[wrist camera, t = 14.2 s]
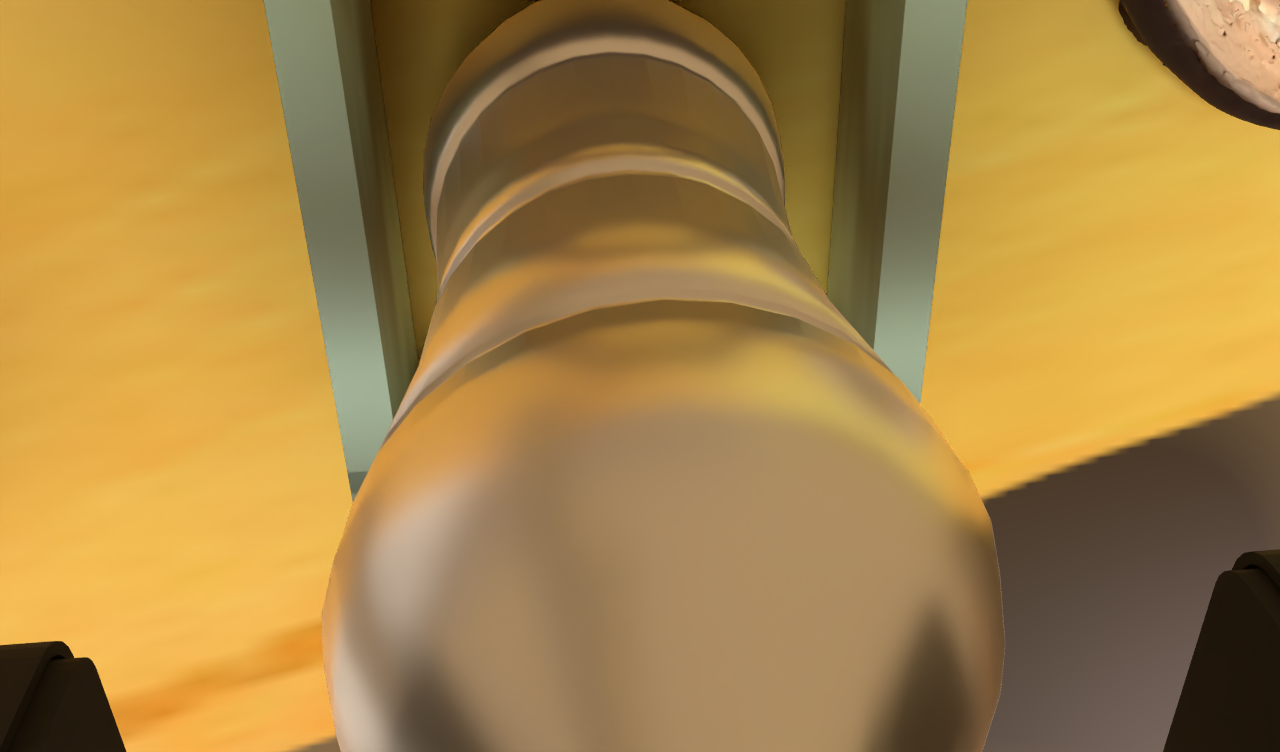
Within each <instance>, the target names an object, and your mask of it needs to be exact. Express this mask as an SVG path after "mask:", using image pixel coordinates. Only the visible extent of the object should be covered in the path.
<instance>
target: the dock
mask: <svg viewBox="0 0 1280 752" xmlns="http://www.w3.org/2000/svg"><path fill="white" fill-rule="evenodd" d="M264 5H265V11H266V17H267V22H268V28H269V33H270V39H271V45H272V50H273V56H274V62H275V67H276V73H277V78H278V84H279V90H280V95H281V101H282V107H283V112H284V118H285V123H286V129H287V135H288V140H289V146H290V152H291V157H292V163H293V168H294V174H295V180H296V185H297V191H298V197H299V202H300V208H301V213H302V219H303V225H304V230H305V236H306V242H307V247H308V253H309V258H310V264H311V270H312V275H313V281H314V287H315V292H316V298H317V303H318V309H319V315H320V320H321V326H322V332H323V337H324V343H325V348H326V354H327V360H328V365H329V371H330V376H331V382H332V388H333V393H334V399H335V405H336V410H337V416H338V421H339V427H340V433H341V438H342V444H343V450H344V455H345V461H346V466H347V472H348V478H349V483H350V489H351V495H352V500H353V502H354V500H355V498H356V496H357V494H358V491H359V489H360V487H361V485H362V483H363V481H364V479H365V477H366V475H367V473H368V471H369V469H370V467H371V465H372V463H373V461H374V459H375V457H376V455H377V453H378V451H379V449H380V446H381V444H382V442H383V440H384V438H385V436H386V434H387V432H388V430H389V427H390V425H391V423H392V421H393V419H394V417H395V415H396V413H397V411H398V408H399V406H400V404H401V402H402V400H403V398H404V396H405V394H406V392H407V390H408V387H409V385H410V383H411V381H412V379H413V377H414V375H415V373H416V371H417V368H418V366H419V364H418V356H417V349H416V341H415V334H414V326H413V319H412V311H411V304H410V296H409V289H408V281H407V274H406V266H405V259H404V251H403V244H402V236H401V229H400V221H399V214H398V206H397V199H396V191H395V184H394V176H393V169H392V161H391V154H390V146H389V139H388V131H387V124H386V116H385V109H384V101H383V94H382V86H381V79H380V71H379V64H378V56H377V49H376V41H375V34H374V26H373V19H372V11H371V4H370V0H264ZM966 7H967V0H847V2H846V17H845V32H844V47H843V62H842V77H841V92H840V107H839V122H838V137H837V152H836V168H835V183H834V198H833V213H832V228H831V243H830V258H829V273H828V288H827V297H828V298H829V300H830V302H831V303H832V304H833V305H834V306H835V307H836V308H837V310H838V311H839V312H840V313H841V314H842V315H843V316H844V317H845V319H846V320H847V321H848V322H849V323H850V324H851V325H852V327H853V328H854V329H855V330H856V331H857V332H858V333H859V334H860V336H861V337H862V338H863V339H864V340H865V341H866V342H867V344H868V345H869V346H870V347H871V348H872V349H873V350H874V351H875V353H876V354H877V355H878V356H879V357H880V358H881V359H882V361H883V362H884V363H885V364H886V365H887V366H888V367H889V369H890V370H891V371H892V372H893V374H894V375H895V376H896V377H897V378H899V379H900V380H901V381H902V382H903V383H904V385H905V386H906V387H907V388H908V390H909V391H910V392H911V393H912V395H913V396H914V397H915V398H916V399H917V401H918V402H919V403H920V400H921V392H922V383H923V375H924V366H925V358H926V349H927V340H928V332H929V323H930V315H931V306H932V298H933V289H934V281H935V272H936V264H937V255H938V246H939V238H940V229H941V221H942V212H943V204H944V195H945V187H946V178H947V169H948V161H949V152H950V144H951V135H952V127H953V118H954V110H955V101H956V93H957V84H958V75H959V67H960V58H961V50H962V41H963V33H964V24H965V16H966Z"/></svg>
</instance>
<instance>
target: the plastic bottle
mask: <svg viewBox="0 0 1280 752" xmlns="http://www.w3.org/2000/svg"><path fill="white" fill-rule="evenodd" d="M423 193H424V201H425V210H426V218H427V223H428V228H429V233H430V239H431V244H432V249H433V252H434V255H435V258H436V260H437V301H436V305H435V309H434V311H433V315H432V318H431V322H430V326H429V329H428V333H427V337H426V341H425V344H424V348H423V352H422V355H421V359H420V363H419V366H418V368H417V371H416V373H415V375H414V377H413V379H412V381H411V383H410V385H409V387H408V390H407V392H406V394H405V396H404V398H403V400H402V402H401V404H400V406H399V408H398V411H397V413H396V415H395V417H394V419H393V421H392V423H391V425H390V427H389V430H388V432H387V434H386V436H385V438H384V440H383V442H382V444H381V446H380V449H379V451H378V453H377V455H376V457H375V459H374V461H373V463H372V465H371V467H370V469H369V471H368V473H367V475H366V477H365V479H364V481H363V483H362V485H361V487H360V489H359V491H358V494H357V496H356V498H355V500H354V502H353V504H352V507H351V510H350V514H349V517H348V520H347V523H346V526H345V529H344V533H343V535H342V538H341V541H340V544H339V547H338V549H337V552H336V555H335V558H334V561H333V565H332V570H331V574H330V579H329V583H328V588H327V592H326V597H325V601H324V606H323V610H322V637H323V664H324V671H325V677H326V682H327V688H328V693H329V699H330V704H331V710H332V715H333V720H334V726H335V731H336V737H337V740H338V743H339V746H340V750H341V752H982V750H983V747H984V744H985V740H986V737H987V734H988V731H989V728H990V725H991V721H992V718H993V715H994V712H995V709H996V706H997V703H998V699H999V696H1000V693H1001V683H1002V673H1003V672H1002V671H1003V662H1004V652H1005V636H1004V623H1003V610H1002V597H1001V584H1000V572H999V566H998V560H997V554H996V548H995V542H994V535H993V530H992V524H991V520H990V518H989V515H988V513H987V511H986V509H985V506H984V504H983V502H982V500H981V498H980V495H979V493H978V491H977V489H976V487H975V485H974V482H973V480H972V478H971V476H970V474H969V471H968V470H967V469H966V467H965V466H964V464H963V463H962V462H961V460H960V459H959V457H958V456H957V455H956V453H955V452H954V450H953V449H952V448H951V446H950V444H949V443H948V441H947V440H946V438H945V437H944V435H943V434H942V432H941V431H940V429H939V428H938V426H937V424H936V423H935V422H934V420H933V419H932V418H931V417H930V415H929V414H928V413H927V412H926V410H925V409H924V408H923V407H922V406H921V404H920V403H919V402H918V401H917V399H916V398H915V397H914V396H913V395H912V393H911V392H910V391H909V390H908V388H907V387H906V386H905V385H904V383H903V382H902V381H901V380H900V379H899V378H897V377H896V376H895V375H894V374H893V372H892V371H891V370H890V369H889V367H888V366H887V365H886V364H885V363H884V362H883V361H882V359H881V358H880V357H879V356H878V355H877V354H876V353H875V351H874V350H873V349H872V348H871V347H870V346H869V345H868V344H867V342H866V341H865V340H864V339H863V338H862V337H861V336H860V334H859V333H858V332H857V331H856V330H855V329H854V328H853V327H852V325H851V324H850V323H849V322H848V321H847V320H846V319H845V317H844V316H843V315H842V314H841V313H840V312H839V311H838V310H837V308H836V307H835V306H834V305H833V304H832V303H831V302H830V300H829V298H828V297H827V295H826V293H825V292H824V290H823V288H822V287H821V285H820V283H819V282H818V280H817V278H816V277H815V275H814V273H813V271H812V270H811V268H810V266H809V265H808V263H807V261H806V260H805V258H804V257H803V256H802V254H801V253H800V251H799V249H798V247H797V245H796V243H795V241H794V239H793V238H792V235H791V231H790V227H789V223H788V219H787V215H786V211H785V178H784V161H783V154H782V148H781V141H780V136H779V131H778V127H777V123H776V118H775V114H774V110H773V106H772V103H771V101H770V99H769V97H768V95H767V92H766V90H765V88H764V86H763V84H762V82H761V80H760V77H759V75H758V73H757V72H756V71H755V69H754V68H753V67H752V65H751V64H750V63H749V61H748V60H747V59H746V57H745V56H744V55H743V54H742V52H741V51H740V50H739V48H738V47H737V46H736V45H735V44H734V43H733V42H732V41H731V40H730V39H728V38H727V37H726V36H725V35H724V34H723V33H721V32H720V31H719V30H718V29H717V28H715V27H714V26H713V25H712V24H711V23H710V22H708V21H706V20H705V19H703V18H701V17H699V16H697V15H695V14H693V13H692V12H690V11H688V10H686V9H684V8H682V7H680V6H678V5H677V4H674V3H672V2H670V1H668V0H541V1H538V2H536V3H533V4H532V5H530V6H528V7H527V8H525V9H523V10H522V11H520V12H518V13H517V14H515V15H513V16H512V17H510V18H508V19H507V20H505V21H504V22H503V23H502V24H501V25H500V26H499V27H498V28H496V29H495V30H494V31H493V32H492V33H491V34H490V35H489V36H488V37H487V38H486V39H485V40H483V41H482V42H481V43H480V44H479V45H478V46H477V47H476V48H475V49H474V50H473V51H472V52H471V53H470V54H469V55H468V56H467V57H466V58H465V60H464V61H463V63H462V64H461V65H460V67H459V68H458V70H457V71H456V72H455V74H454V75H453V77H452V78H451V79H450V81H449V82H448V83H447V85H446V87H445V89H444V91H443V94H442V96H441V98H440V100H439V102H438V105H437V107H436V109H435V111H434V114H433V116H432V118H431V122H430V127H429V131H428V135H427V140H426V144H425V149H424V156H423Z"/></svg>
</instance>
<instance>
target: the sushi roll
mask: <svg viewBox="0 0 1280 752" xmlns="http://www.w3.org/2000/svg"><path fill="white" fill-rule="evenodd" d="M1119 12H1120V14H1121V16H1122V18H1123V20H1124V23H1125V25H1126V26H1127V28H1128V30H1130V31H1131V32H1132V33H1133V34H1134V36H1135V37H1136V38H1137V40H1138V41H1139V42H1141V43H1143V44H1144V45H1146V46H1148V47H1149V48H1150V50H1151V51H1152V52H1153V53H1154V54H1155V55H1156V56H1157V58H1158V59H1159V60H1160V61H1161V62H1162V63H1163V65H1165V66H1167V67H1168V68H1169V69H1170V70H1171V71H1172V72H1173V73H1174V74H1175V75H1176V76H1177V77H1178V78H1179V79H1181V80H1182V81H1183V82H1184V83H1185V84H1186V85H1187V86H1188V87H1190V88H1191V89H1192V90H1193V91H1194V92H1195V93H1197V94H1198V95H1199V96H1200V97H1201V98H1202V99H1204V100H1205V101H1207V102H1208V103H1209V104H1211V105H1213V106H1214V107H1216V108H1217V109H1219V110H1221V111H1223V112H1225V113H1227V114H1229V115H1231V116H1234V117H1236V118H1239V119H1241V120H1244V121H1247V122H1251V123H1253V124H1256V125H1260V126H1264V127H1268V128H1272V129H1277V130H1280V0H1120V2H1119Z"/></svg>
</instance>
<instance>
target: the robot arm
mask: <svg viewBox="0 0 1280 752" xmlns="http://www.w3.org/2000/svg"><path fill="white" fill-rule="evenodd" d="M0 752H126V749H125V747H124V744H123V741H122V738H121V736H120V733H119V730H118V727H117V725H116V722H115V719H114V716H113V714H112V711H111V708H110V705H109V702H108V700H107V697H106V694H105V691H104V689H103V686H102V683H101V680H100V678H99V675H98V672H97V669H96V667H95V665H94V663H93V661H92V660H90V659H89V658H74V656H73V654H72V652H71V650H70V649H69V647H68V646H67V645H66V644H65V643H64V642H62V641H52V642H38V643H25V644H12V645H0ZM1163 752H1280V550H1267V551H1255V552H1247V553H1243V554H1242V555H1241V556H1240V557H1239V558H1238V559H1237V560H1236V562H1235V564H1234V567H1233V568H1232V570H1231V571H1224V572H1223V573H1222V574H1221V575H1220V576H1219V577H1218V579H1217V581H1216V584H1215V587H1214V590H1213V593H1212V597H1211V600H1210V603H1209V606H1208V610H1207V612H1206V616H1205V619H1204V622H1203V625H1202V628H1201V632H1200V635H1199V638H1198V641H1197V644H1196V648H1195V651H1194V655H1193V657H1192V660H1191V664H1190V667H1189V670H1188V673H1187V676H1186V680H1185V683H1184V686H1183V689H1182V693H1181V696H1180V699H1179V702H1178V705H1177V708H1176V712H1175V715H1174V718H1173V722H1172V725H1171V728H1170V731H1169V734H1168V737H1167V740H1166V744H1165V747H1164V750H1163Z"/></svg>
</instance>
